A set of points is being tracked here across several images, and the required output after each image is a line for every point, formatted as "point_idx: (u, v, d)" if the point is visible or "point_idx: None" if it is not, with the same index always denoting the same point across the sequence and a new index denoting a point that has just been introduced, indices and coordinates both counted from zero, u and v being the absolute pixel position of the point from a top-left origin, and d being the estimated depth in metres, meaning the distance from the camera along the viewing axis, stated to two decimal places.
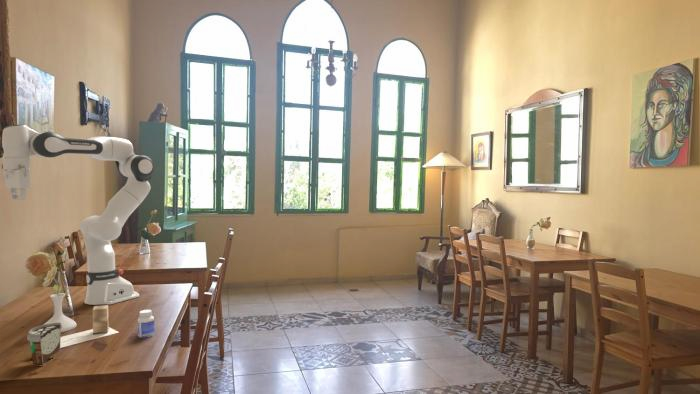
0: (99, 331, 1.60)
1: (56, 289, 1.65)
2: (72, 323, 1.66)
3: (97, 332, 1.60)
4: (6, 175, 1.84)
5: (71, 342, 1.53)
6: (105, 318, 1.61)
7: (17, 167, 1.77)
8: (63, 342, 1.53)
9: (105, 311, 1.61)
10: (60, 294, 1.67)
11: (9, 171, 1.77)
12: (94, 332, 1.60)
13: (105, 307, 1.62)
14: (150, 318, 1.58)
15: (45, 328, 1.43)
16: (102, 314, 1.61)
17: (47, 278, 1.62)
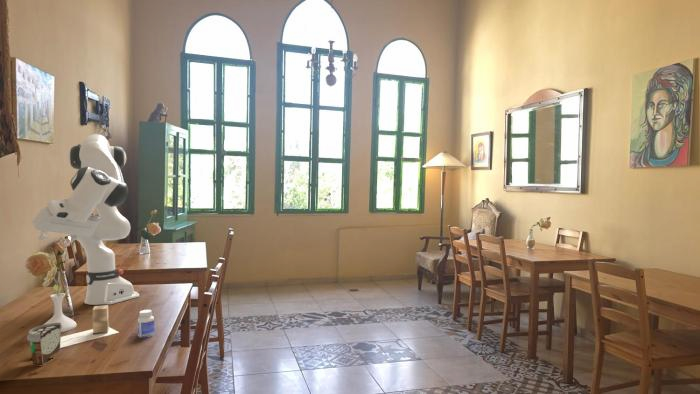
0: (99, 331, 1.60)
1: (56, 289, 1.65)
2: (72, 323, 1.66)
3: (97, 332, 1.60)
4: (50, 219, 1.51)
5: (71, 342, 1.53)
6: (105, 318, 1.61)
7: None
8: (63, 342, 1.53)
9: (105, 311, 1.61)
10: (60, 294, 1.67)
11: (78, 222, 1.58)
12: (94, 332, 1.60)
13: (105, 307, 1.62)
14: (150, 318, 1.58)
15: (45, 328, 1.43)
16: (102, 314, 1.61)
17: (47, 278, 1.62)
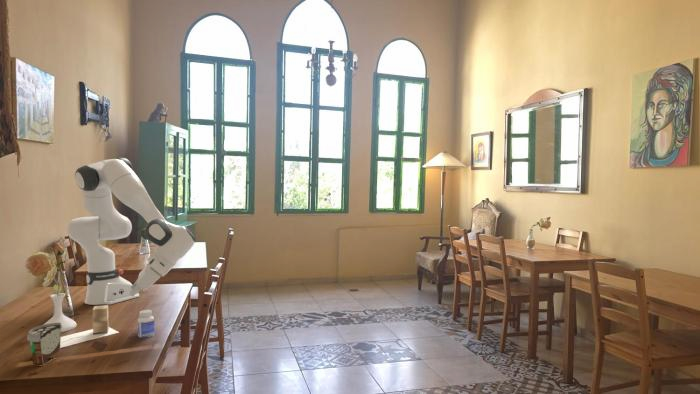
0: (99, 331, 1.60)
1: (56, 289, 1.65)
2: (72, 323, 1.66)
3: (97, 332, 1.60)
4: None
5: (71, 342, 1.53)
6: (105, 318, 1.61)
7: None
8: (63, 342, 1.53)
9: (105, 311, 1.61)
10: (60, 294, 1.67)
11: None
12: (94, 332, 1.60)
13: (105, 307, 1.62)
14: (150, 318, 1.58)
15: (45, 328, 1.43)
16: (102, 314, 1.61)
17: (47, 278, 1.62)
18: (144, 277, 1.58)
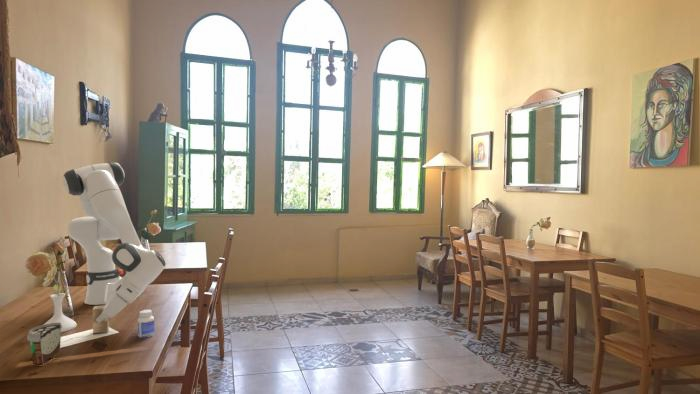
0: (99, 331, 1.60)
1: (56, 289, 1.65)
2: (72, 323, 1.66)
3: (97, 332, 1.60)
4: None
5: (71, 342, 1.53)
6: (105, 318, 1.61)
7: None
8: (63, 342, 1.53)
9: None
10: (60, 294, 1.67)
11: None
12: (94, 332, 1.60)
13: None
14: (150, 318, 1.58)
15: (45, 328, 1.43)
16: None
17: (47, 278, 1.62)
18: (110, 305, 1.55)
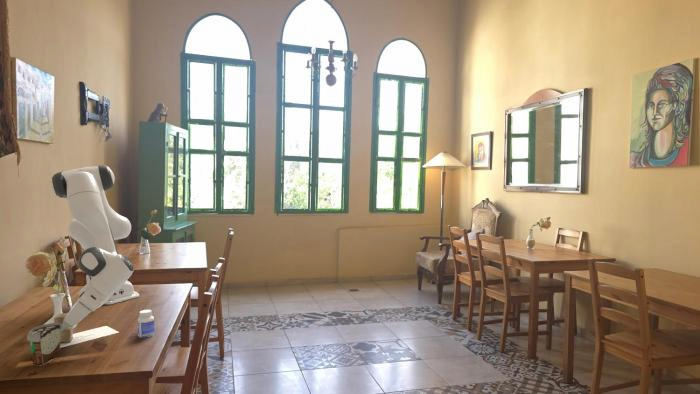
0: (61, 340, 1.51)
1: (56, 289, 1.65)
2: None
3: None
4: None
5: (71, 342, 1.53)
6: (68, 327, 1.52)
7: None
8: None
9: None
10: (60, 294, 1.67)
11: None
12: None
13: None
14: (150, 318, 1.58)
15: (45, 328, 1.43)
16: None
17: (47, 278, 1.62)
18: (71, 313, 1.45)
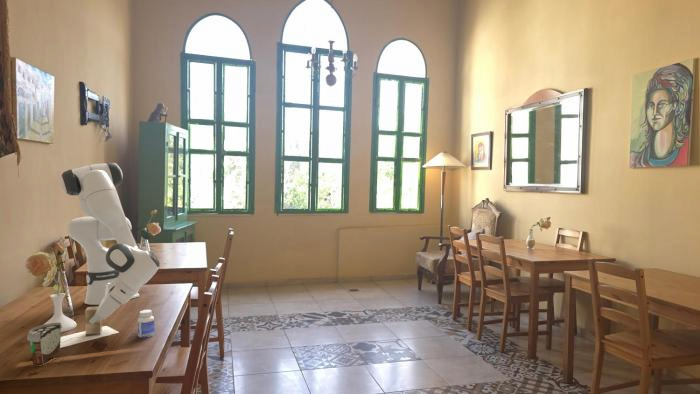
0: (92, 332, 1.59)
1: (56, 289, 1.65)
2: (72, 323, 1.66)
3: (90, 333, 1.58)
4: None
5: (71, 342, 1.53)
6: (98, 319, 1.59)
7: None
8: (63, 342, 1.53)
9: None
10: (60, 294, 1.67)
11: None
12: (87, 333, 1.58)
13: None
14: (150, 318, 1.58)
15: (45, 328, 1.43)
16: None
17: (47, 278, 1.62)
18: (103, 306, 1.53)
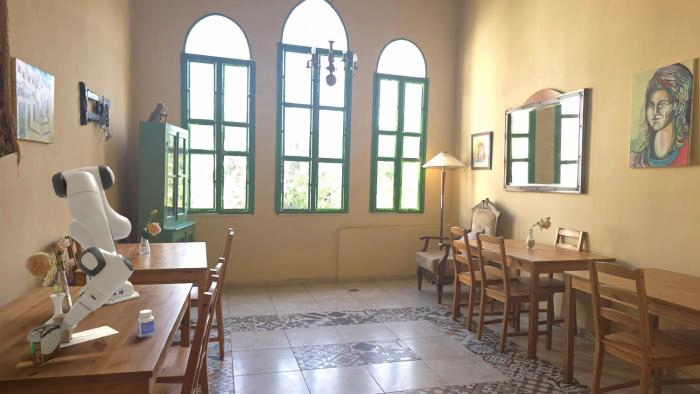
0: (60, 341, 1.51)
1: (56, 289, 1.65)
2: None
3: None
4: None
5: (71, 342, 1.53)
6: (67, 327, 1.52)
7: None
8: None
9: None
10: (60, 294, 1.67)
11: None
12: None
13: None
14: (150, 318, 1.58)
15: (45, 328, 1.43)
16: None
17: (47, 278, 1.62)
18: (71, 313, 1.45)
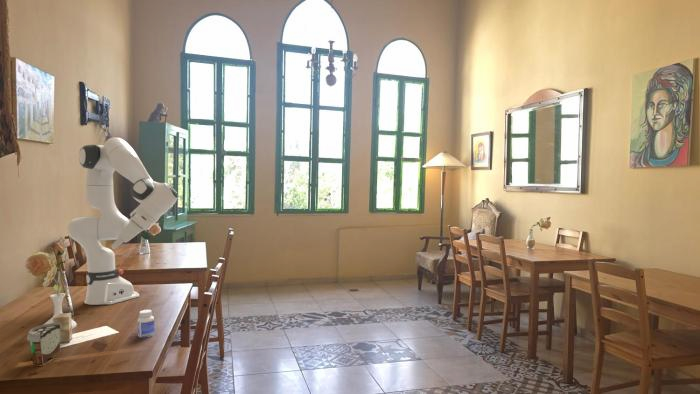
0: (60, 341, 1.51)
1: (56, 289, 1.65)
2: (72, 323, 1.66)
3: None
4: None
5: (71, 342, 1.53)
6: (67, 327, 1.52)
7: None
8: None
9: (67, 319, 1.52)
10: (60, 294, 1.67)
11: None
12: None
13: (67, 315, 1.53)
14: (150, 318, 1.58)
15: (45, 328, 1.43)
16: (63, 323, 1.51)
17: (47, 278, 1.62)
18: (125, 229, 1.60)
